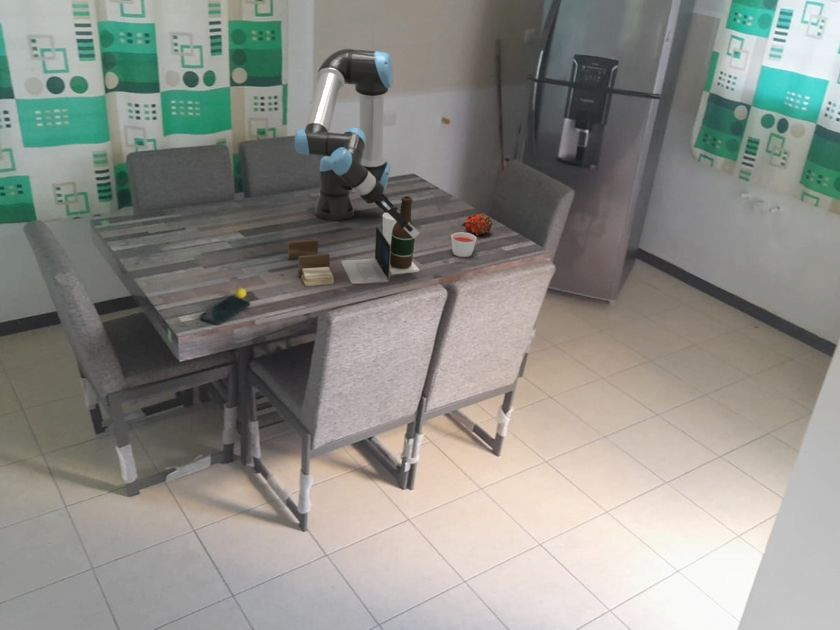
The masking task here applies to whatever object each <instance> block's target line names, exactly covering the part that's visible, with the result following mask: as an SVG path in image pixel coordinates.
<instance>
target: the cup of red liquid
mask: <svg viewBox="0 0 840 630" xmlns="http://www.w3.org/2000/svg"><path fill="white" fill-rule="evenodd" d="M450 238H451V248H452V249H451V250H452V254H453V255H454V256H457V257H460V258H466V257H467V258H469V257H470V256H472V255H473V252H474V248H475V246H476V242H477V236H476V235H474V233H473V234H471V233H468V232H465V231H464V232H463V231H462V232H461V231H459V232H455V233H452V234H451V236H450Z"/></svg>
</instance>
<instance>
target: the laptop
mask: <svg viewBox="0 0 840 630" xmlns="http://www.w3.org/2000/svg"><path fill="white" fill-rule="evenodd" d="M375 229H376V230H375V248H374V249H375V251H374V252H375V253H374V254H375V256H374V258H366V259H364V258H363V259H361V258H360V259H346V260H340V263H341V265H342V267H343V270H344V271H345V273H346V275H347V277H348V279H349V281H350V283H351V284H352V285H358V284H362V285H363V284H366V285H367V284H382V283H383V284H384V283H389V281H390V275H391V274H390V255H391V244H389V243H388V241H387V240H386V238H385V237H384V235H383V231H382V230H381V229H380V228H379V226H378V225H376V227H375Z"/></svg>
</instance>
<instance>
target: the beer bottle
mask: <svg viewBox="0 0 840 630" xmlns="http://www.w3.org/2000/svg"><path fill="white" fill-rule="evenodd" d="M400 201H401V206H400V211H399V212H400V214H401V215H402V216H403V217H404V218H405V219H406V220H407V221H408V222H409V223H410V224H411V225H412V226H413V227H414V228H415V225H414V223H413V222H412V202H413V198H412V197H411V196H409V195H408V196H407V195H405V196H403V197H401V199H400ZM400 227H401V225H400V224H399V223H398V222H396V223H395V225H394V227H393V230H392V237H391V244H390V246H391V255H390V264H391V265H392V267H395V268H399V269H405V268H409V267H410V266H411V265H412V262H413V258H414V250H415V249H414V247H415V239H416V237H415V238H413V237H412V236H411V235H410V234H409V233H408V232H407V231H406V230H405V229H403V228H400Z"/></svg>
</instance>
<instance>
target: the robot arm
mask: <svg viewBox="0 0 840 630" xmlns="http://www.w3.org/2000/svg"><path fill="white" fill-rule="evenodd" d="M393 69H394V68H393V61H392V57H391V55H390V54H389V53H388V52H383V51H379V50H364V49H351V48H342V49H339V50H337V51H335V52H333V53H331V54H330V55H329V56H328V57H326V58H325V60H324V61H323V62H322V64H321V65H320V67H319V69H318V71H317V75H316V82H317V85H316V89H315V92H314V97H313V99H312V104H311V107H310V111H309V115H308V117H307V121H306V125H305V127H304V128H303V129H298V130H297V131H296V132H295V135H294V149H295V152H296V153H297V154H302V155H307V156H318V157H319V156H322V158H321V159H320V162H319V195H318V197H317V200H316V204H315V206H314V214H315V216H316V217H317V218H319V219H322V220H323V219H324V220H328V221H344V220H348V219H351V218H352V217H353V216H354V214H355V208H354V205H353V201H352V199H351V198H352V197H351V194H350V193H351V192H352V193H356V194H357V195H358V196H360V198H361V199H362V200H363V201H364V202H365V203H367V204H370V205H371V204H376V205H377V207H378V208H380V209H382V211H384V213H389V214H390V215H391V216H392V217H393V218H394V219H395V220H396V221H397V222H398V223H399V224H400V225H401V227H400V228H403V229H405V230H406V231H407V232H408V233H409V234H410V235H411V236H412V237H413V238H415V239H416V238H417V237H418V236H419V235H420V232H419V230H418V229H417V228H415V226H414V227H413V226H412V225H411V224H410V223H409V222H408V221H407V220H406V219H405V218H404V217H403V216H402V215H401V214H400V211H399V210H398V209H399V208H398V206H395V207H394V204H393V203H392V202H391V201H390V200H389V198H388V197H387V196H386V195H385V194H384V192H385V191H386V189H387V185H388V182H389V176H390V171H391V163H390V162H387V156H386V155H384V151H383V150H384V149H383V143H384V142H383V141H384V96H385V95H386V94H387V93H389V88H392V86H393V82H394V79H393V77H394V73H393V72H394V70H393ZM346 84H347V85H354V87H355V88H354V90H355V92H356V93H357V94H358V95H359V128H357V127H350V128H347V129H345V130H344V132H343V133H341V132H340V133H339V132H330V128H331V124H332V121H333V117H334V113H335V109H336V105H337V102H338V98H339V94H340V90H342V89H343V87H344V86H345V85H346Z"/></svg>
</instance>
